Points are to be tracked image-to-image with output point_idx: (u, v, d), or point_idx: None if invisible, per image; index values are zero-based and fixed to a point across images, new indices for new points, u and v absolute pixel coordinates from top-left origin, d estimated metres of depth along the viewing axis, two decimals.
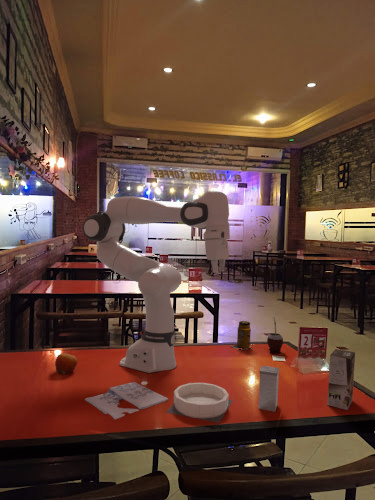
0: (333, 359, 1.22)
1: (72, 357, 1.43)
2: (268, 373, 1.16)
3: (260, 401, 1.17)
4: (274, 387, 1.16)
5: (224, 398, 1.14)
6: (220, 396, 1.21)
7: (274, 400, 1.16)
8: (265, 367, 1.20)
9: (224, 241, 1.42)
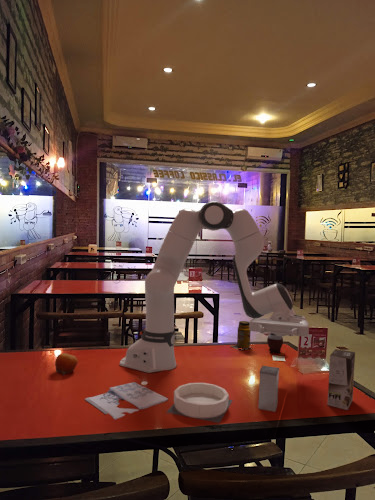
0: (333, 359, 1.22)
1: (72, 357, 1.43)
2: (268, 373, 1.16)
3: (260, 401, 1.17)
4: (274, 387, 1.16)
5: (224, 398, 1.14)
6: (220, 396, 1.21)
7: (274, 400, 1.16)
8: (265, 367, 1.20)
9: None
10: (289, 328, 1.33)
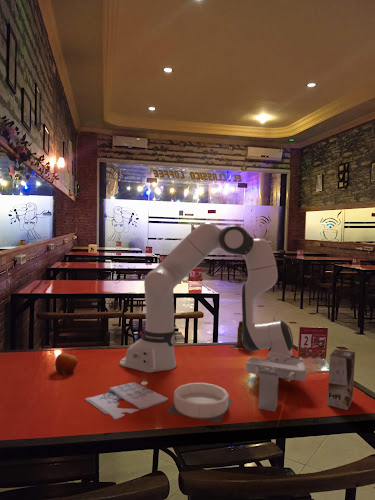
0: (333, 359, 1.22)
1: (72, 357, 1.43)
2: (268, 373, 1.16)
3: (260, 401, 1.17)
4: (274, 387, 1.16)
5: (224, 398, 1.14)
6: (220, 396, 1.21)
7: (274, 400, 1.16)
8: (265, 367, 1.20)
9: None
10: (286, 371, 1.31)
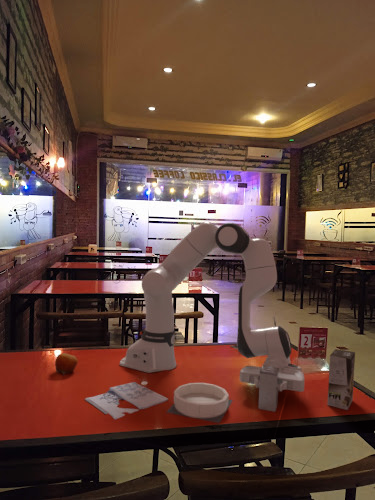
0: (333, 359, 1.22)
1: (72, 357, 1.43)
2: (268, 373, 1.16)
3: (260, 401, 1.17)
4: (274, 387, 1.16)
5: (224, 398, 1.14)
6: (220, 396, 1.21)
7: (274, 400, 1.16)
8: (265, 367, 1.20)
9: None
10: None
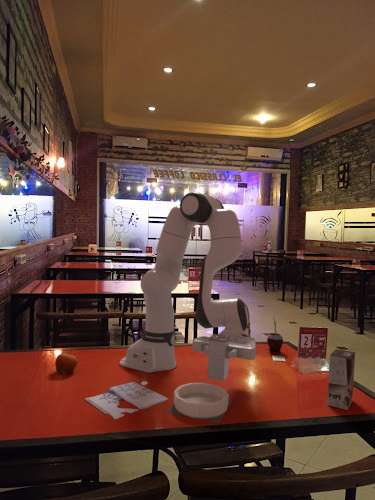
0: (333, 359, 1.22)
1: (72, 357, 1.43)
2: (217, 340, 1.15)
3: (209, 368, 1.16)
4: (223, 354, 1.15)
5: (224, 398, 1.14)
6: (220, 396, 1.21)
7: (223, 367, 1.15)
8: (216, 335, 1.19)
9: None
10: None
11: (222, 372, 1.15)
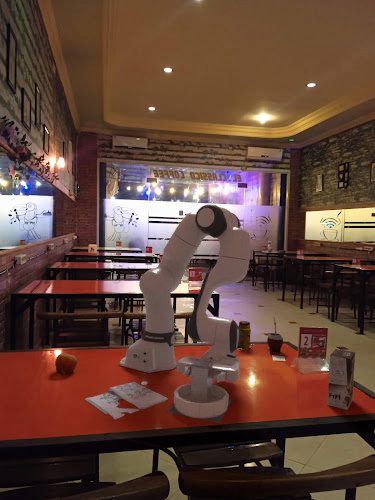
0: (333, 359, 1.22)
1: (72, 357, 1.43)
2: (200, 366, 1.15)
3: (192, 395, 1.16)
4: (205, 380, 1.15)
5: (224, 398, 1.14)
6: (220, 396, 1.21)
7: (205, 393, 1.14)
8: (199, 360, 1.19)
9: None
10: (218, 371, 1.20)
11: (205, 398, 1.15)
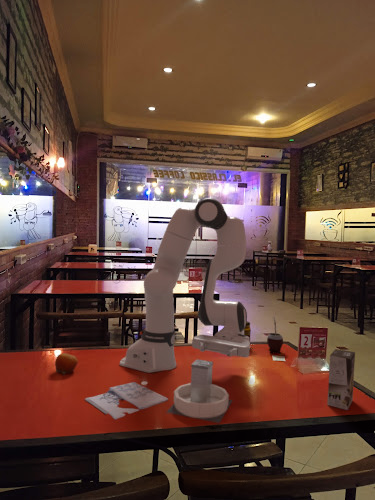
0: (333, 359, 1.22)
1: (72, 357, 1.43)
2: (200, 366, 1.15)
3: (192, 395, 1.16)
4: (205, 381, 1.14)
5: (224, 398, 1.14)
6: (220, 396, 1.21)
7: (205, 394, 1.14)
8: (199, 361, 1.19)
9: None
10: (230, 348, 1.33)
11: (205, 399, 1.15)
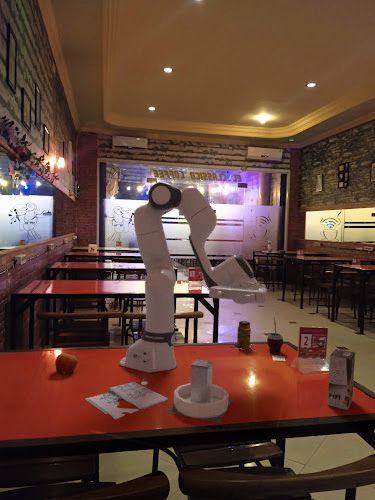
0: (333, 359, 1.22)
1: (72, 357, 1.43)
2: (200, 366, 1.15)
3: (192, 395, 1.16)
4: (205, 381, 1.14)
5: (224, 398, 1.14)
6: (220, 396, 1.21)
7: (205, 394, 1.14)
8: (199, 361, 1.19)
9: (243, 300, 1.40)
10: (247, 294, 1.34)
11: (205, 399, 1.15)
